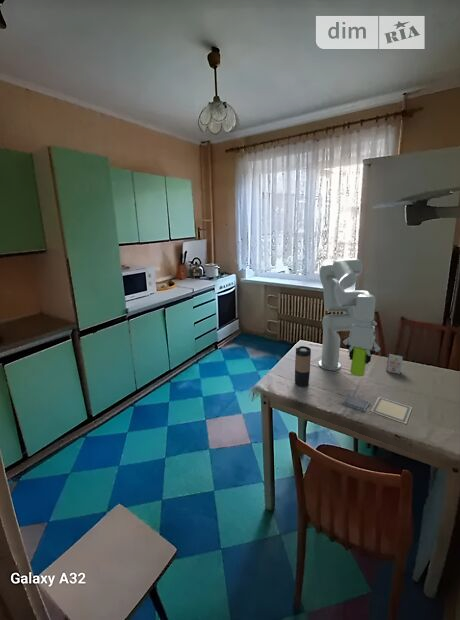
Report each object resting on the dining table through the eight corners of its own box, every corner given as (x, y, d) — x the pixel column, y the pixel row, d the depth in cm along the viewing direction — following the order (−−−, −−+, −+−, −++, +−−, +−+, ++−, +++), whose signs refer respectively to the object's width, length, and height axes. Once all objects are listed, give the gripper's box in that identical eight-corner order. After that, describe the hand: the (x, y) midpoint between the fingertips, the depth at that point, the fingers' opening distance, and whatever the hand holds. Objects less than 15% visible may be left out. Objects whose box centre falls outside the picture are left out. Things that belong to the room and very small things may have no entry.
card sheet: (378, 397, 140) (378, 396, 140) (412, 407, 131) (412, 407, 131) (370, 411, 130) (370, 410, 130) (406, 424, 121) (406, 423, 121)
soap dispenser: (360, 378, 127) (367, 337, 121) (347, 371, 133) (353, 331, 127) (369, 375, 130) (376, 334, 124) (356, 368, 136) (362, 329, 129)
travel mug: (309, 388, 149) (311, 352, 143) (294, 386, 151) (295, 351, 145) (308, 380, 156) (310, 346, 151) (294, 379, 158) (295, 345, 152)
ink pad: (347, 396, 142) (347, 393, 141) (369, 403, 135) (369, 401, 135) (341, 403, 136) (342, 401, 135) (364, 412, 130) (364, 409, 129)
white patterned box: (386, 368, 166) (389, 352, 163) (400, 371, 162) (403, 355, 159) (385, 371, 163) (388, 355, 160) (399, 374, 159) (402, 358, 156)
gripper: (387, 324, 122) (382, 363, 127) (346, 317, 133) (342, 353, 138) (382, 329, 117) (377, 369, 122) (340, 321, 127) (337, 358, 132)
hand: (359, 360), depth 130 cm, fingers closed on soap dispenser, 6 cm apart
